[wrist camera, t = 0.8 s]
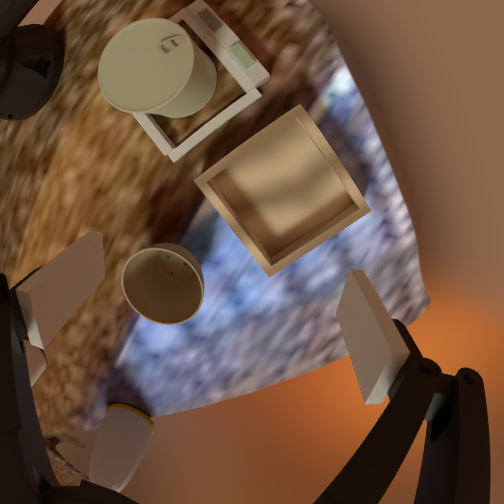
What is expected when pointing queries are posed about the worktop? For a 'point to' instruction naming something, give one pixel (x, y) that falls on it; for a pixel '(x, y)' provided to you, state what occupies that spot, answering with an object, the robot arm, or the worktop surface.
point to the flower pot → (163, 283)
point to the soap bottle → (119, 446)
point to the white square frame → (234, 61)
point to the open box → (283, 191)
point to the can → (156, 70)
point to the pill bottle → (34, 361)
